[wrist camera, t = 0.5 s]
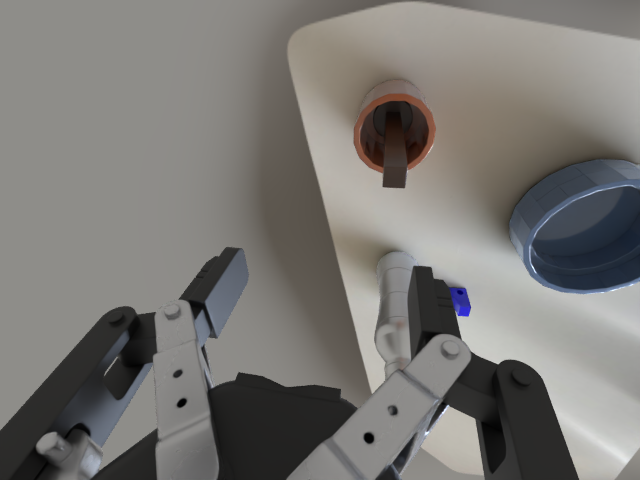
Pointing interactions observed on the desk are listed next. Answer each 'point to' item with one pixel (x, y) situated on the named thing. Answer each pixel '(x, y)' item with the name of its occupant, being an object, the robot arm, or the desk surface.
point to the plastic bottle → (394, 310)
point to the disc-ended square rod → (393, 140)
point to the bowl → (582, 227)
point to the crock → (414, 139)
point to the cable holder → (460, 301)
